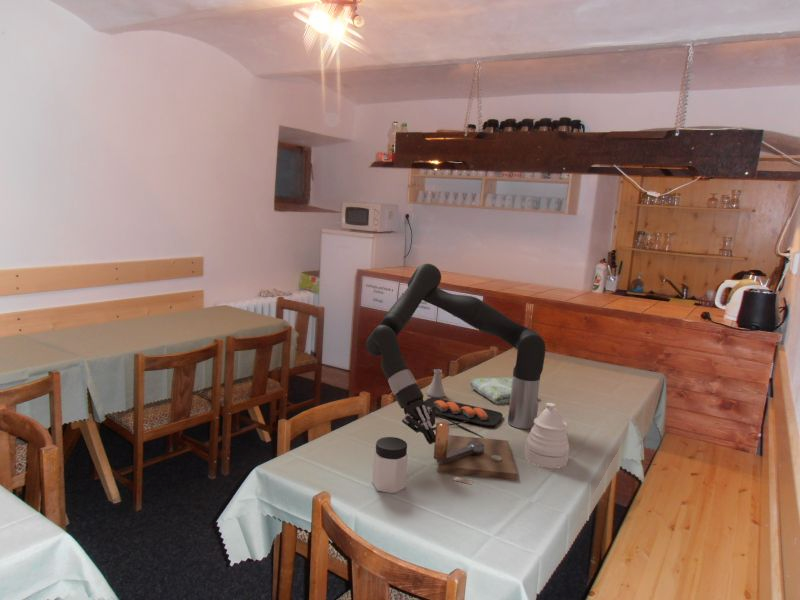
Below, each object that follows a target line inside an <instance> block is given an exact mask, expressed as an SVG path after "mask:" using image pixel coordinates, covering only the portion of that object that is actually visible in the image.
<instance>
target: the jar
mask: <svg viewBox="0 0 800 600" xmlns="http://www.w3.org/2000/svg"><path fill="white" fill-rule="evenodd" d="M407 452H408V443H407V442H406V441H405V440H404V439H402V438H400V437H395V436H385V437H381V438H379V439H378V440H377V441H376V443H375V449H374V451H373V463H372V464H373V465H372V466H373V467H372V480H371V482H372V484H373V486H374V487H375V489H376V491H377V492H381V491H382V492H383V493H387V494H395V493H398V492H400V491H401V490H404V489H405V488H406V484H407V481H406V480H407V471H408V459H409V454H407Z"/></svg>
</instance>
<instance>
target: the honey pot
mask: <svg viewBox="0 0 800 600" xmlns="http://www.w3.org/2000/svg"><path fill="white" fill-rule="evenodd" d="M545 406H546V408H545V409H544V410H543V411H541V413H540V415H539V416H537V418H535V419H534V426H533V427H532V428H530V432H529V434H528V436H526V439H525V447H524V454H525V455H524V458H525V460H526V461H528V460H529V461H530V462H529V461H528V462H529V463H531V462H532V463H531V464H533V463H534V464H533V465H535V464H536V465H535V466H537V465H539V466H538V467H540V466H543V467H542V468H544V467H548V468H547V469H555V468H556V469H559V468H558V467H562V468H564V467H563V466H565V465H566V464H568V463H567V462H569V455H570V444H569V443H570V442H569V439H568V433H567V432H566V430H567V429H568V423H567V422H566V421H564V420H563V416H562V415H561V413H560V411H559V410H558V409H557V408H556V404H555V403H552V402H547V403H545ZM566 466H567V465H566ZM566 466H565V467H566Z"/></svg>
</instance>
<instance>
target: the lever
mask: <svg viewBox="0 0 800 600" xmlns="http://www.w3.org/2000/svg"><path fill="white" fill-rule="evenodd" d="M435 424H436V426H435V427H436V429H435V442H434V448H433V459H434V460H436V462H437V464H438V463H440V464H442V465H443V464H446V463H448V462H451V461H454V460H457V459H460V458H463V457H465V456H468V455H471V454H473V455H481V454H483V453H484V444H482V443H480V442H476V441H472V442H469V443H468V445H467V446H466V447H463V448H460V449H458V450H455V451H452V452H449V453H447V446H448V435H450V426H449V424H450V423H448V422H445V421H438V422H436V423H435Z"/></svg>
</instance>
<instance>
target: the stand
mask: <svg viewBox="0 0 800 600" xmlns="http://www.w3.org/2000/svg"><path fill="white" fill-rule="evenodd" d="M472 441H476V442H480V443H482V444H484V453H483V454H481V455H473V454H471V455H468V456H465V457H463V458H460V459H457V460H454V461H451V462H448V463H446V464H443V465H442V464H440V463H438V462H437V473H439V474H440V473H442V474H449V475H450V474H452V475H461V476H471V477H478V478H479V477H482V478H490V479H499V478H500V480H510V481H511V480H513V481H517V477H518V472H517V468H516V464H515V461H514V457H513V453H512V449H511V447H510V443H509V440H504V439H493V438H485V437H484V438H482V437H474V436H463V435H453V434H449V435H448V446H447V453H449V452H452V451H455V450H458V449H460V448H463V447H466V446H467V445H468V443H469V442H472ZM453 481H454V482H459V483H463V484H467V485H471V486H472V485H473V483H474V480H473V479H467V478H462V477H458V476H455V477H454V479H453Z"/></svg>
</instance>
